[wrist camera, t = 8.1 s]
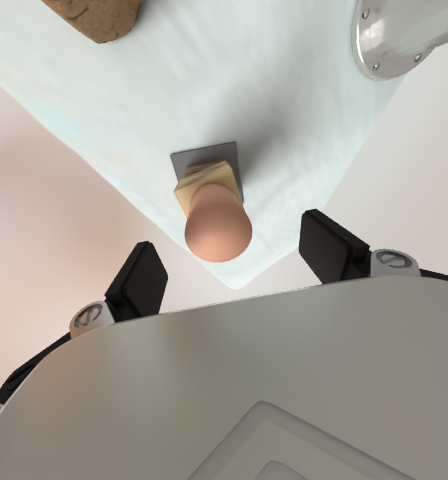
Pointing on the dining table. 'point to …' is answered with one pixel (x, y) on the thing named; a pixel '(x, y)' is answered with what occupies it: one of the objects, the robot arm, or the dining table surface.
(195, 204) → the peach egg-shaped pebble
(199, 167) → the block
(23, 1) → the dining table surface
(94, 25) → the block
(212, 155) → the mat
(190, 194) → the tower top
